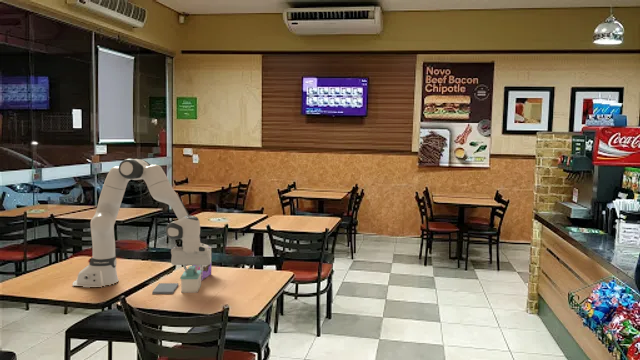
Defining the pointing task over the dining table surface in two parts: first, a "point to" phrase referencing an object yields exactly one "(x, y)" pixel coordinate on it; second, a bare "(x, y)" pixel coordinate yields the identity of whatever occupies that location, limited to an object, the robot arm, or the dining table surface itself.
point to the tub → (190, 285)
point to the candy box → (205, 269)
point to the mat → (165, 288)
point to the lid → (191, 273)
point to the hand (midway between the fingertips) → (191, 272)
